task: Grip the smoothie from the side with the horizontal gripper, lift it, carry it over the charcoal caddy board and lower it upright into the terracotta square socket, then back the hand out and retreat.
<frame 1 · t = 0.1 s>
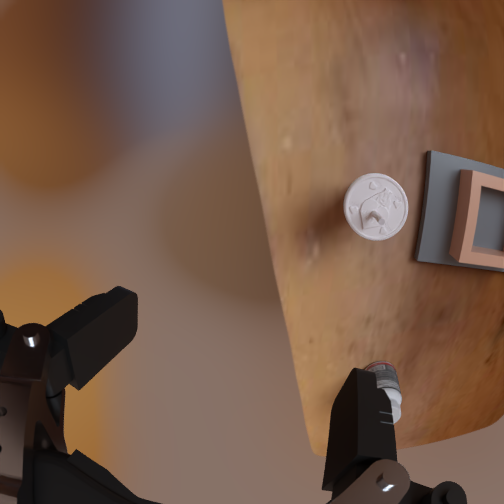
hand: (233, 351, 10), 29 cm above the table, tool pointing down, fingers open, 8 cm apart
smoothie: (364, 196, 34), on the table
pill bottle: (378, 372, 41), on the table
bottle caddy: (483, 216, 30), on the table
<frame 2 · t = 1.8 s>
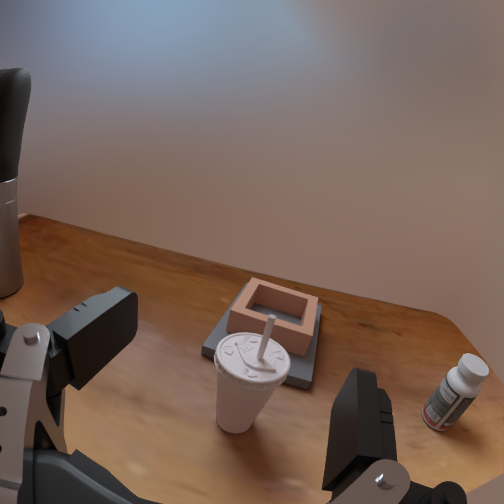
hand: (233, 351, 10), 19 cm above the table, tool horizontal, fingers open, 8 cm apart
smoothie: (233, 420, 27), on the table
pill bottle: (435, 418, 29), on the table
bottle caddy: (270, 330, 43), on the table
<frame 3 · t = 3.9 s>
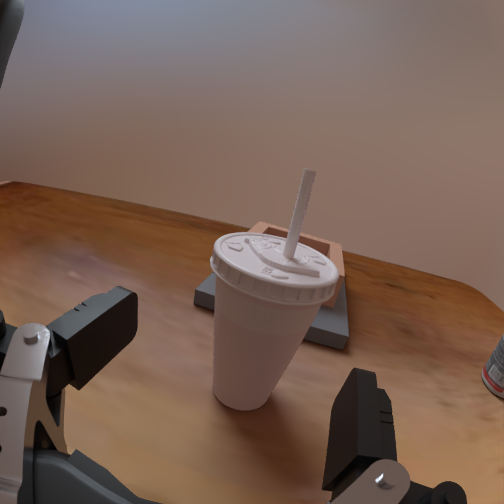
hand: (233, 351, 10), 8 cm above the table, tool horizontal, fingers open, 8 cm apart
smoothie: (240, 391, 18), on the table
pill bottle: (496, 385, 20), on the table
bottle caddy: (284, 283, 34), on the table
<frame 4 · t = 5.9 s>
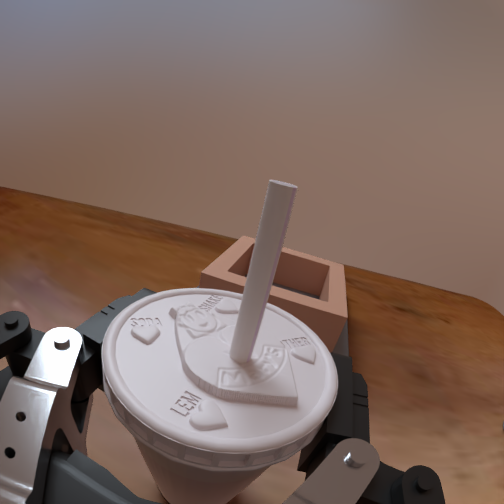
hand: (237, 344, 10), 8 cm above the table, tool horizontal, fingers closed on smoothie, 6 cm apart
smoothie: (194, 484, 11), on the table, touching gripper
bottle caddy: (271, 315, 27), on the table
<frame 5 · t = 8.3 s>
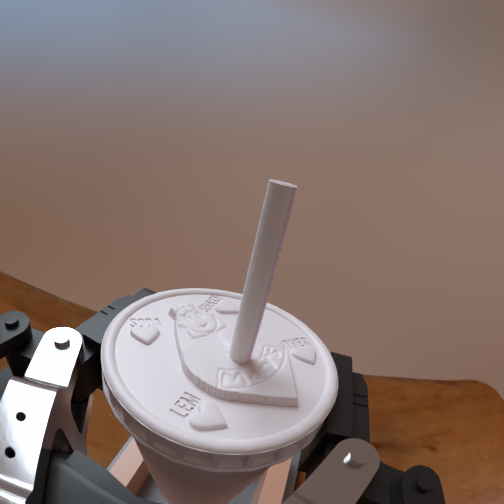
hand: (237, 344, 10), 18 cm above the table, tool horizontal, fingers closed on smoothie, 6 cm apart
smoothie: (194, 484, 11), point 9 cm above the table, touching gripper
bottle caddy: (198, 495, 17), on the table
when the fingers open (11 cm above the table, at t = 10.7 s): smoothie drops 1 cm, resting on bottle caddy.
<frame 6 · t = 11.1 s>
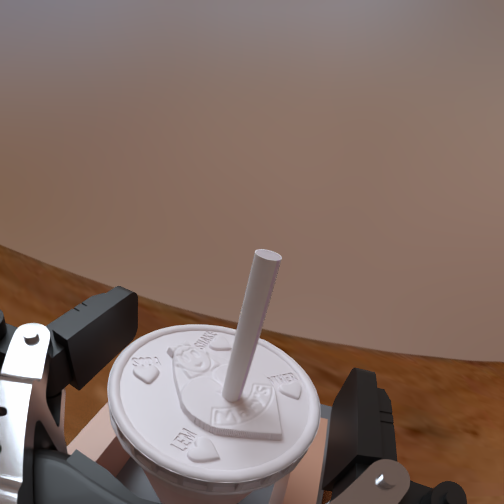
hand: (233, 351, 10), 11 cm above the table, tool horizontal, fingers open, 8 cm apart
smoothie: (193, 495, 11), point 1 cm above the table, touching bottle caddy
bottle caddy: (192, 499, 12), on the table
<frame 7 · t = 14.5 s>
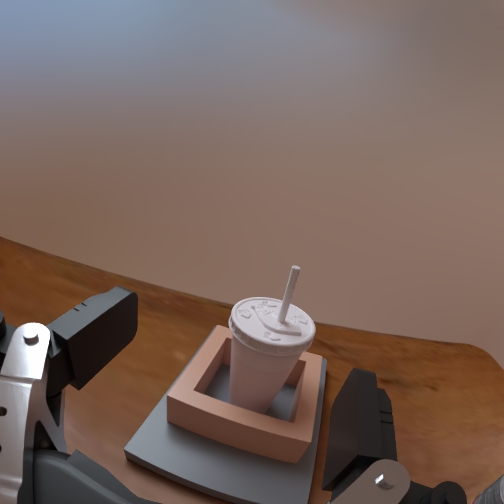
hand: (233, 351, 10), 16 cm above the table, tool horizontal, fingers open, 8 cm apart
smoothie: (248, 404, 24), point 1 cm above the table, touching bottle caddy
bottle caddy: (245, 410, 25), on the table
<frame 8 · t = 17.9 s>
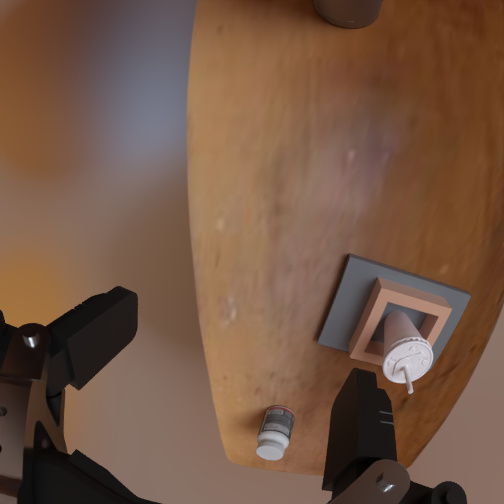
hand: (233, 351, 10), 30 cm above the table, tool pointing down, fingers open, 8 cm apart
smoothie: (396, 321, 37), point 1 cm above the table, touching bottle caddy
pill bottle: (280, 413, 50), on the table
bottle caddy: (395, 316, 38), on the table
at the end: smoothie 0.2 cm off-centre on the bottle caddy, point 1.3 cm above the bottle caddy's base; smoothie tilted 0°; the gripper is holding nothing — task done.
